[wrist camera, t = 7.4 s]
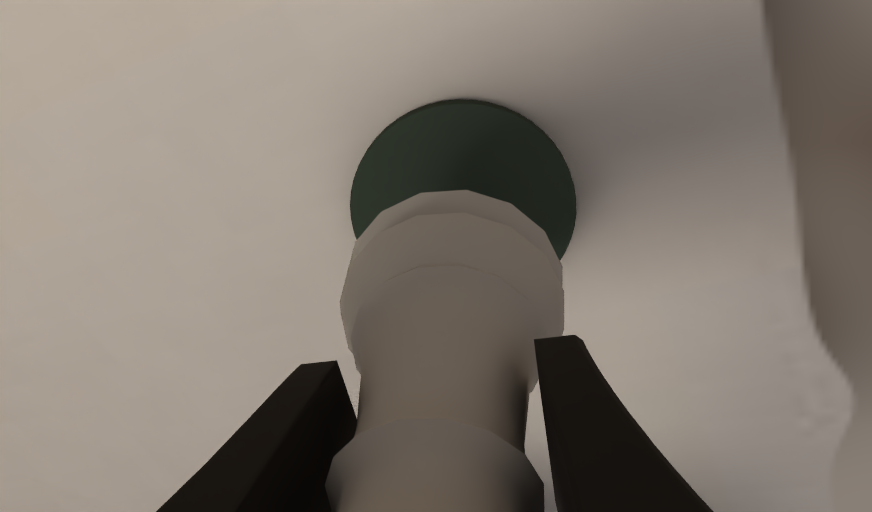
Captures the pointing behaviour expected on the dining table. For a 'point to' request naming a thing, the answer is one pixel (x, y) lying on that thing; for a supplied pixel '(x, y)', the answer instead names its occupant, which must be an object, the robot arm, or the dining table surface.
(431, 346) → the rook chess piece
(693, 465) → the dining table surface
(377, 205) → the coaster
